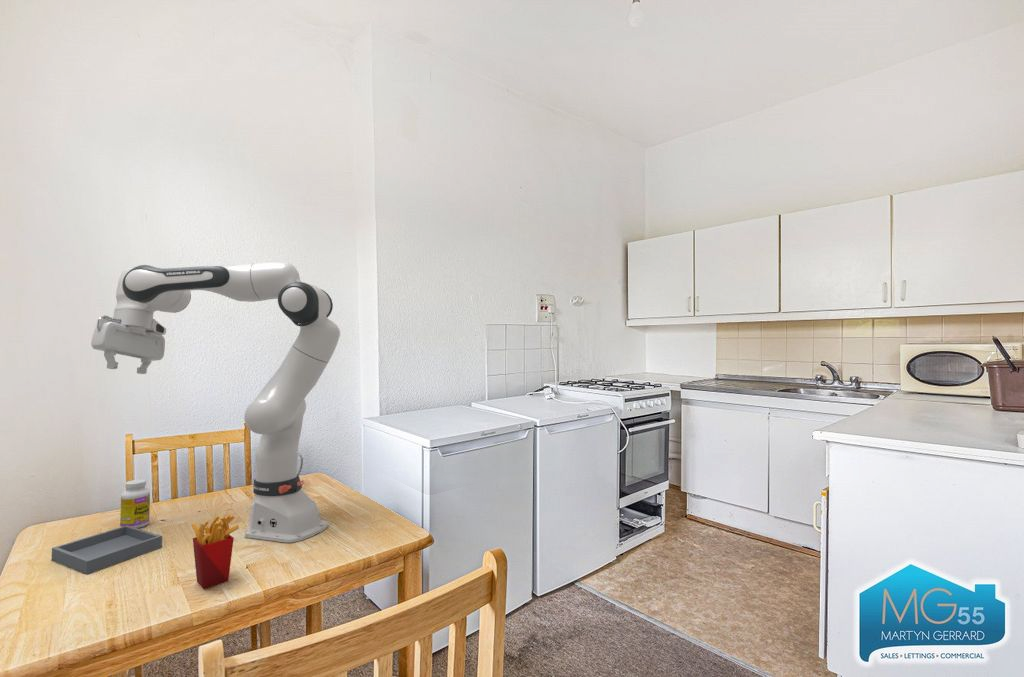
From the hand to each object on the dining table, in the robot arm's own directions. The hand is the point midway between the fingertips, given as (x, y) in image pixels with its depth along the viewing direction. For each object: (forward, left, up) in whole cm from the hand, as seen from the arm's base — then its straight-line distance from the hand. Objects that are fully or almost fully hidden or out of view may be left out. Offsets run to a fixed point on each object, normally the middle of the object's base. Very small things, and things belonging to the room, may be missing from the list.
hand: (127, 371), depth 133 cm
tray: (-10, +9, -45) cm, 47 cm away
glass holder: (-7, -47, -45) cm, 66 cm away
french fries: (-48, +6, -45) cm, 66 cm away
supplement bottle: (+4, -4, -45) cm, 46 cm away
